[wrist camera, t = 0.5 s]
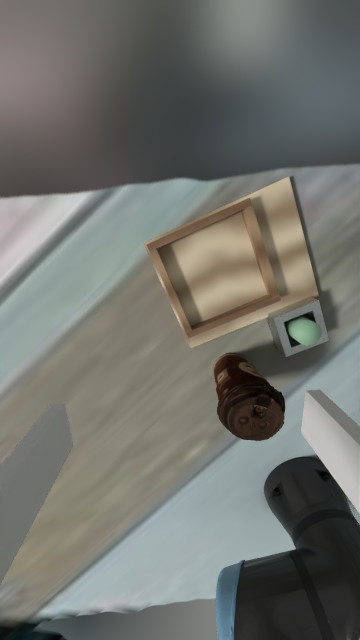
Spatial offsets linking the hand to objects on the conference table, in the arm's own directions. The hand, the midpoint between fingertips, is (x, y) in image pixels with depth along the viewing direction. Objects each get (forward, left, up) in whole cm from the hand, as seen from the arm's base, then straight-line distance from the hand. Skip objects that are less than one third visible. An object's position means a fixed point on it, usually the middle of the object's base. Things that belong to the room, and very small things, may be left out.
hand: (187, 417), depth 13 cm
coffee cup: (-14, -4, -26) cm, 30 cm away
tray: (+2, -10, -26) cm, 28 cm away
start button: (-10, -16, -23) cm, 30 cm away
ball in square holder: (-10, -16, -26) cm, 32 cm away
